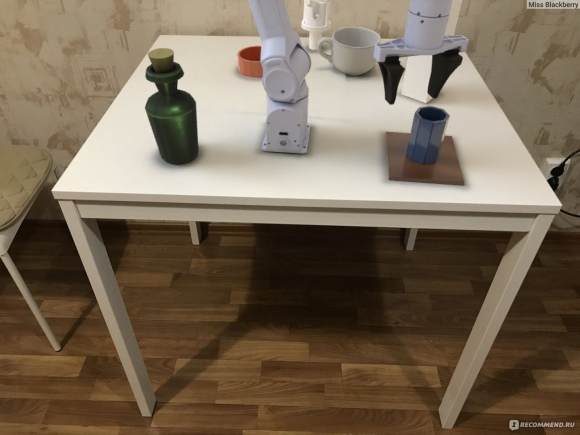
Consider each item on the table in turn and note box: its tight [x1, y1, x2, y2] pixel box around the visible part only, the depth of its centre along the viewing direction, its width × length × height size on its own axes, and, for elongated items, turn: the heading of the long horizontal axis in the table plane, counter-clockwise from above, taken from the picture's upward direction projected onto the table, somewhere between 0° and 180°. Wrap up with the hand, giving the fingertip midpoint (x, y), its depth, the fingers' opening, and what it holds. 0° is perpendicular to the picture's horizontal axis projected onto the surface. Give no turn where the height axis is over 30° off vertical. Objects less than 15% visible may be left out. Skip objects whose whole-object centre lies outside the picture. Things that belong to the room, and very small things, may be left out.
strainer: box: [300, 0, 332, 51], centre depth 109 cm, size 7×7×15 cm
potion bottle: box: [144, 47, 200, 165], centre depth 74 cm, size 8×8×18 cm
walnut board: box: [384, 131, 465, 186], centre depth 79 cm, size 14×12×1 cm
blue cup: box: [406, 105, 451, 165], centre depth 76 cm, size 5×5×8 cm
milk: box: [400, 0, 463, 104], centre depth 90 cm, size 6×6×22 cm
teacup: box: [316, 26, 382, 76], centre depth 103 cm, size 14×11×8 cm
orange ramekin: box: [236, 45, 263, 78], centre depth 104 cm, size 9×9×4 cm
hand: (410, 98), depth 74 cm, fingers open, 7 cm apart
